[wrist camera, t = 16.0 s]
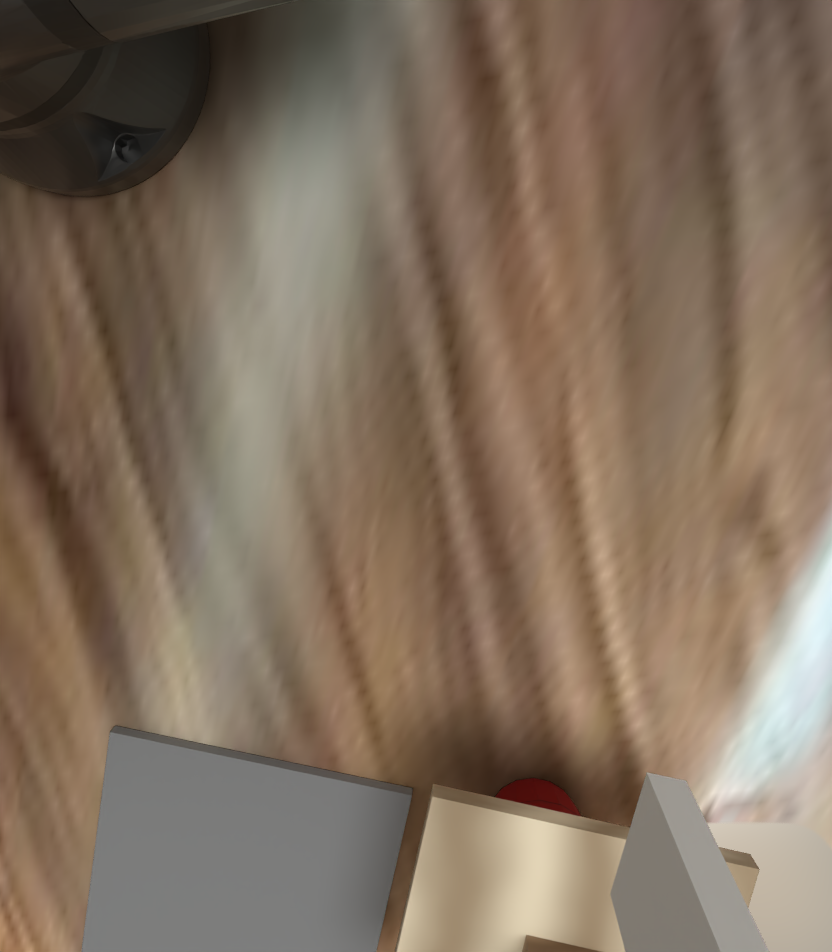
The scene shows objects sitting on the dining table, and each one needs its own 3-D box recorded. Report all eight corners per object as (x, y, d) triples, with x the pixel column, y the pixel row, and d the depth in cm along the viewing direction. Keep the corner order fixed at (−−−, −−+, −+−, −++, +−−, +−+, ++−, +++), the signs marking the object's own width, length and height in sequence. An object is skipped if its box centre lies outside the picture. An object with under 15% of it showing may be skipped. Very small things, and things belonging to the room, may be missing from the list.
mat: (82, 973, 56) (77, 983, 55) (115, 725, 52) (109, 732, 51) (356, 1031, 56) (355, 1041, 55) (412, 788, 52) (411, 795, 51)
